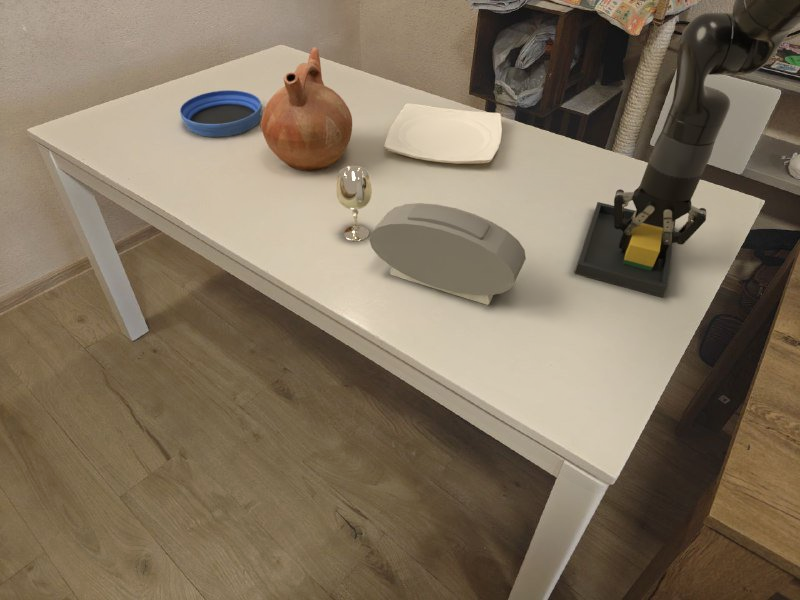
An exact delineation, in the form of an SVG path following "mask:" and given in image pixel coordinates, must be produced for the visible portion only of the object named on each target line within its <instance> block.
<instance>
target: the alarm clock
mask: <svg viewBox="0 0 800 600" xmlns="http://www.w3.org/2000/svg"><path fill="white" fill-rule="evenodd" d="M368 240H369V244H370V247H371V249H372V250H373V251H374V252H375V255H377V257H378V258H380V259H381V260H382V261H383V262H385V263H386V264H387V265H388V266H389V267H390V270H389V275H391V276H393V277H396V278H399V279H403V280H406V281H409V282H413V283H415V284H419V285H423V286H426V287H429V288H431V289H435V290H438V291H441V292H445V293H448V294H450V295H454V296H457V297H461V298H464V299H467V300H470V301H473V302H475V303H476V302H477V303H480V304H484V305H487V306H489V305H490V304H491V301H492V299H493V297H494V295H501V294H503V293H505V292H507V291H510V290H511V289H512V288H513V286H514V284H515V283H516V281H517V279H518V276H519V274H520V272H521V270H522V268H523V266H524V264H525V262H526V251H525V250H526V249H525V248H524V247H523V245H522V244H521V242H520V241H519V240H518V239H517V238H516V237H515V236H514V235H513V234H511V233H510V232H509V231H508V230H506V229H505V228H503V227H502V226H499V225H498V224H496V223H495V222H493V221H491V220H489V219H486V218H484V217H482V216H480V215H478V214H475V213H472V212H469V211H465V210H462V209H459V208H456V207H451V206H446V205H441V204H434V203H424V202H418V203H405V204H402V205H399V206H396V207H395V206H394V207H393V208H391V210H390V211H388V212H387V213H386V214H385V215H384V216H383V218H382V219H381V220H380V222H379V223H378V224H377V225H376V226H375V228H374V229H373V230H372V231H371V232H370V234H369V238H368Z"/></svg>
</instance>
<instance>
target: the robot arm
mask: <svg viewBox="0 0 800 600" xmlns="http://www.w3.org/2000/svg"><path fill="white" fill-rule="evenodd" d="M798 25H800V0H734V2H733V6H732V12H705V13H701V14H699V15H698V16H696V17H694V18H693V19H691V21H690V22H689V23H688V24H687V26H686V27H685V29H684V30H683V31H682V33H681V36H680V38H679V42H678V47H677V58H676V60H677V61H676V75H675V82H674V83H675V84H674V91H673V98H672V102H671V105H670V108H669V111H668V113H667V116H666V118H665V121H664V123H663V127H662V129H661V131H660V133H659V135H658V136H657V138H656V141H655V143H654V146H653V148H652V150H651V152H650V156H649V159H648V162H647V165H646V168H645V170H644V173H643V175H642V179H641V181H640V183H639V186H638V187H637V188H636V189H634V191H633V192H632V191H631V192H628V191H627V192H625V191H624V190H623V189H617V190H616V192H615V195H614V197H613V198H614V199H613V206H614V227H615V228H616V229H620V230H622V231H623V234H622V237H621V240H620V243H619V248H620V249H622V251H621V252H623V253H626V250H627V248H628V245H629V243H630V240H631V237H632V234H633V232H634V231H635V230H636V228H637V227H639V226H640V225H641V224H642V223H643V222H644V221H647V222H655V223H657V224H659V225H663V233H664V236H662V239H661V246H660V252H659V255H658V257H657V259H656V261H658V260H659V259H663V258H664V256H665V254H666V252H667V250H668V247H669V245H670V244H672V243H673V244H677V245H685V244H686V243H687V241H688V240H689V239H691V237H692V236H693V235H694V234H695V233H696V232H697V230H698V229H700V227H701V226H702V225H703V224H704V223H705V222H706V221H707V209H706V208H705V207H700V208H698V207H696V206H694V205H692V198H693V196H694V193H695V191H696V189H697V188H698V185H699V183H700V180H701V178H702V176H703V174H704V172H705V171H706V170H705V169H706V167H707V165H708V162H709V160H710V159H711V155H712V153H713V149H714V146H715V143H716V140H717V138H718V136H719V133H720V131H721V129H722V128H723V127H722V126H723V125H724V123H725V120H726V118H727V115H728V114H729V111H730V107H731V100H730V98H729V96H728V95H727V94H726V93H725V92H723V91H721V90H719V89H717V88H713V87H711V86H708V85H707V86H706V85H705V81H706V79H707V76H708V75H710V76H745V75H749V74H751V73H754V72H757V71H758V70H760V69H762V68H763V67H764V66H766V65H767V64H768V63H769V61H770V60H771V59H772V57H773V56H774V54H775V53H776V52H777V51H778V49H779V47H780V46H781V45H782V44H783V42H784V41H785V40H786V38H787V37H788V36H789V34H790V32H791V31H792V30H793V29H795V27H797V26H798ZM631 201H632V203H633V205H634V207H635V213H634V214H633V216H632V217H631V218H630V219H629V221H627V220H626V219H624V208H625V207H627V206H628V205H629V203H630V202H631ZM687 214H688V216H687V221H686V222H685V223H684V225H683V226H682V227H681V228H680V229H679V230H678V231H674V232H673V221H674V220H678V219H680V218H682V217H683V216H685V215H687Z"/></svg>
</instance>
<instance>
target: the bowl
mask: <svg viewBox="0 0 800 600" xmlns="http://www.w3.org/2000/svg"><path fill="white" fill-rule="evenodd" d="M262 109H263V105H262V101H261V99H260V98H259V97H258V96H257V95H255V94H253V93H251V92H247V91H241V90H235V89H234V90H233V89H232V90H231V89H226V90H215V91H209V92H204V93H201V94H198V95H196V96H193V97H191V98H190V99H187V100H186V101H185V102H184V103H182V104H181V106H180V109H179V113H180V118H181V119H182V122H184V124H185V126H186V128H187V129H188V130H189V131H190V132H192V133H193V134H195V135H199V136H202V137H211V138H223V137H230V136H235V135H239V134H240V135H241V134H243V133H246V132H247V131H250V130H251V129H253V128H254V127H256V126H257V125H258V124H259V123H260V122H261V120H262V112H263V111H262Z"/></svg>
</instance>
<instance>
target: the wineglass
mask: <svg viewBox="0 0 800 600" xmlns="http://www.w3.org/2000/svg"><path fill="white" fill-rule="evenodd" d="M372 189H373V188H372V183H371V179H370V175H369V172H368V169H366V168H365V167H363V166H360V165H348V166H345V167H343V168H341V169H339V171H338V175H337V180H336V197H337V200H338V202H339V203H340V205H341V206H343V207H344V208H346V209H348V210H352V211H351V213H352V216H353V219H354V221H353V222H354V225H351V226H348V227H346V229H345V230H344V231H343V236H344V238H345V239H346V240H348V241H352V242H361V241H364V240H366V239H367V238H368V237H369V236H370V231H369V229H368V228H366V227H365V226H364V225H363V226H362V225H358V215H359V210H360V209H363V208H365V207H366V206H367V205H368V204H369V203H370V201H371V199H372V193H373V191H372Z"/></svg>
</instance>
